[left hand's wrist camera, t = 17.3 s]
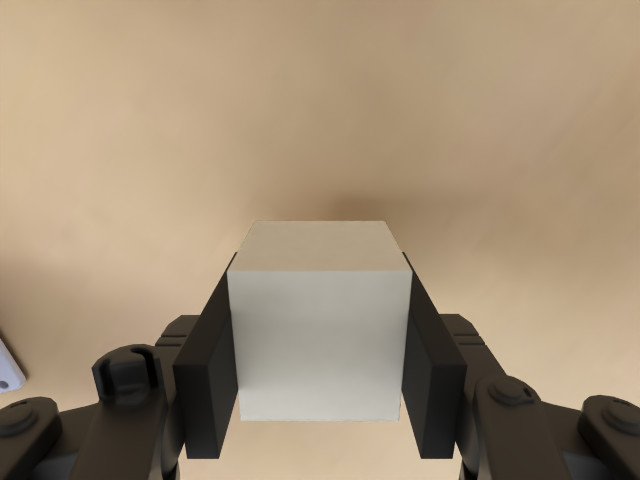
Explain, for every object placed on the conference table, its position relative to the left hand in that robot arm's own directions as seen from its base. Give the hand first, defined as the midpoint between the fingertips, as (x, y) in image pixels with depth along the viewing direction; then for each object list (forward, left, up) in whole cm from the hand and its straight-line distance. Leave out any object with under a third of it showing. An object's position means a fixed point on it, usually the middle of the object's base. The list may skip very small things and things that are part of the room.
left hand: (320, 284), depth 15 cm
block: (0, 0, 0) cm, 0 cm away
